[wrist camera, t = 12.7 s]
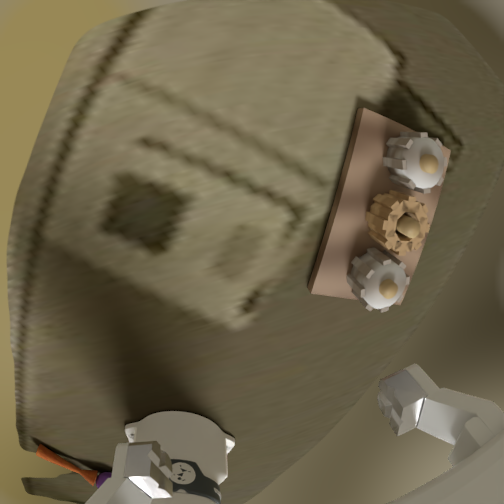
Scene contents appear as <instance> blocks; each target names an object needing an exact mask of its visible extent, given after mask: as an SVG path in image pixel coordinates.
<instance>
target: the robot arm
mask: <svg viewBox="0 0 504 504" xmlns="http://www.w3.org/2000/svg"><path fill="white" fill-rule="evenodd" d="M378 387H379V388H380V390H381V391H380V392H379V393H378V404H379V407H380V409H381V411H382V413H383V415H384V416H386V417H388V418H390V426H391V427H392V429H393V430H394V432H395V434H396V435H397V436H399V435H401V434H403V433H405V432H408V431H410V430H411V429H414V428H416V427H417V428H418V429H420V430H422V431H424V432H427V433H429V434H431V435H433V436H435V437H437V438H440V439H442V440H444V441H446V442H448V443H450V444H453V445H454V447H453V449H452V451H451V453H450V454H449V457H448V460H449V461H450V463H451V464H452V466H453V467H452V468H450V469H449V470H447V471H446V472H444V473H442V474H441V475H439V476H438V477H436V478H434V479H432V480H431V481H429V482H427V483H426V484H424V485H422V486H420V487H418V488H416V489H415V490H413V491H411V492H409V493H407V494H405V495H403V496H401V497H399V498H397V499H395V500H393V501H391V502H389V503H386V504H504V412H503V411H502V410H501V409H500V408H499V407H498V406H497V405H496V404H495V403H494V402H493V401H490V400H486V399H482V398H478V397H475V396H471V395H467V394H464V393H460V392H457V391H453V390H449V389H446V388H441V389H439V388H438V386H437V385H436V384H435V383H434V382H433V381H432V380H431V379H430V378H429V376H428V375H427V374H426V373H425V372H424V371H423V370H422V369H421V367H420V366H419V365H418V364H413V365H411V366H409V367H406V368H405V369H402V370H399V371H398V372H395V373H393V374H391V375H389V376H387V377H385V378H382V379H380V381H379V386H378ZM125 432H126V435H127V437H128V440H129V442H130V443H119V444H118V445H117V447H116V451H115V457H114V463H113V469H112V476H111V478H107V480H106V481H105V482H104V483H103V484H102V485H101V486H100V487H99V489H98V490H97V491H96V492H95V493H94V494H93V495H92V496H91V498H90V499H89V500H88V501H87V502H86V503H85V504H221V494H220V488H219V484H220V483H221V482H223V481H224V479H225V478H227V476H228V468H227V454H228V453H229V451H230V450H231V449H232V448H233V446H234V445H235V439H234V438H233V437H232V436H230V435H228V434H225V433H224V432H223V431H222V430H221V429H220V428H219V427H218V426H217V425H216V424H215V423H214V422H212V421H211V420H209V419H207V418H205V417H203V416H200V415H197V414H193V413H188V412H181V411H164V412H158V413H154V414H151V415H149V416H147V417H145V418H144V419H142V420H141V421H139V422H135V423H130V424H127V425H126V426H125Z"/></svg>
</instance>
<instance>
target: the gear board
mask: <svg viewBox="0 0 504 504" xmlns="http://www.w3.org/2000/svg"><path fill="white" fill-rule="evenodd" d="M450 152H451V150H449V149H447V148H446V147H444V146H442V143H441V142H440V141H439V139H438V138H429V137H428V134H427V133H425V132H416V131H414V130H412V129H410V128H408V127H406V126H404V125H402V124H399V123H397V122H395V121H393V120H391V119H389V118H386V117H384V116H382V115H380V114H378V113H375V112H373V111H371V110H368V109H366V108H359V109H358V110H357V114H356V118H355V123H354V127H353V131H352V135H351V139H350V143H349V147H348V151H347V155H346V159H345V162H344V166H343V170H342V174H341V177H340V181H339V185H338V188H337V192H336V196H335V199H334V203H333V206H332V210H331V213H330V216H329V220H328V223H327V227H326V230H325V233H324V237H323V240H322V243H321V246H320V249H319V253H318V256H317V259H316V262H315V265H314V268H313V271H312V275H311V278H310V281H309V284H308V287H307V288H308V290H309V291H310V293H312V294H319V295H326V296H333V297H341V298H348V299H356V300H359V301H360V302H361V303H362V305H363V306H364V307H365V308H366V309H368V310H369V311H371V310H372V309H373V308H376V309H378V310H379V311H380V312H385V311H388V309H389V306H391V305H392V304H395V305H401V303H402V300H403V298H404V296H405V293H406V291H407V288H408V286H409V284H410V281H411V279H412V276H413V274H414V271H415V268H416V266H417V263H418V260H419V258H420V255H421V252H422V249H423V247H424V244H425V241H426V238H427V235H428V233H427V232H425V237H424V239H423V240H422V241H421V244H422V245H421V246H420V247H419V248H418V249H417V250H414V249H413V250H412V251H411V252H408V251H406V255H405V256H398V255H397V254H395V253H394V252H392V251H391V250H388V249H386V248H385V247H383V246H382V245H380V244H379V243H377V242H376V241H374V240H373V239H372V238H371V237H370V235H369V234H368V232H369V231H370V228H369V227H368V221H366V220H365V217H366V211H367V212H370V208H371V205H372V204H374V203H375V202H374V200H373V198H374V197H375V196H376V195H378V194H381V195H383V194H384V193H387V194H389V191H390V190H397V191H400V192H403V193H405V194H408V195H411V196H414V197H416V201H418V202H421V203H424V204H425V205H426V207H427V209H428V212H427V213H426V215H427V217H428V221H427V223H429V224H430V226H431V223H432V220H433V216H434V213H435V210H436V206H437V203H438V200H439V196H440V192H441V189H442V185H443V181H444V177H445V173H446V169H447V165H448V161H449V156H450ZM429 229H430V227H429ZM396 230H397V231H398V232H400V233H402V234H404V235H406V236H407V237H409V238H415V237H416V236H417V235H418V234H419V232H420V223H419V222H418V221H417V220H415V219H413V218H411V217H408V216H406V215H404V214H403V215H402V216H401V217H400V218H399V219H398V220H397V224H396Z"/></svg>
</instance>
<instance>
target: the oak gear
mask: <svg viewBox="0 0 504 504" xmlns="http://www.w3.org/2000/svg"><path fill="white" fill-rule="evenodd" d="M373 200H374V202H375V203H374V204H372V205H371V208H370V212H367V211H366V217H365V220H366V221H368V227H369V228H370V231H369V232H368V234H369V235H370V237H371V238H372V239H373V240H374V241H376V242H377V243H379V244H380V245H382V246H383V247H385V248H386V249H388V250H391V251H392V252H394V253H395V254H397V255H398V256H405V255H406V251H408V252H411V251H412V250H413V249H414V250H417V249H418V248H419V247H420V246H421V245H422V244H421V241H422V240H423V239H424V237H425V232H427V233H428V232H429V227H430V224H429V223H427V221H428V217H427V215H426V213H427V212H428V209H427V207H426V205H425V204H424V203H421V202H418V201H416V197H414V196H411V195H408V194H405V193H403V192H400V191H397V190H390V191H389V194H387V193H384V194H383V195H381V194H378V195H376V196H375V197H374V198H373ZM403 214H404V215H406V216H408V217H411V218H413V219H415V220H417V221H418V222H419V223H420V232H419V234H418V235H417V236H416V237H415V238H409V237H407V236H406V235H404V234H402V233H400V232H398V231H397V230H396V224H397V220H398V219H399V218H400V217H401V216H402V215H403Z"/></svg>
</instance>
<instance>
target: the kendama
mask: <svg viewBox="0 0 504 504" xmlns="http://www.w3.org/2000/svg"><path fill="white" fill-rule="evenodd" d="M36 455H37V456H39V457H41V458H43V459H45V460H47V461H50V462H52V463H54V464H57V465H59V466H62V467H64V468H67V469H69V470H72V471H74V472H77V473H80V474H81V475H82V476H83V477H84V478H85V479H86V480H87V481H88V482H89V483H90V484H91V485H92V486H93V485H94V483H95V481H96V486H97V487H98V489H99V487H100V486H101V485H102V484H103V483H104V482H105V481H106V480H107V478H111V476H112V473H111V472H103V473H100V474H99V475H98V476H97V473H98V471H96V470H81V469H79V468H78V467H76V466H74V465H73V464H71V463H69V462H68V461H66V460H64V459H63V458H61V457H60V456H58V455H57V454H55V453H54V452H52V451H51V450H49V449H48V448H46V447H45V446H43V445H42V444H40V445H39V447H38V449H37V452H36Z"/></svg>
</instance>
